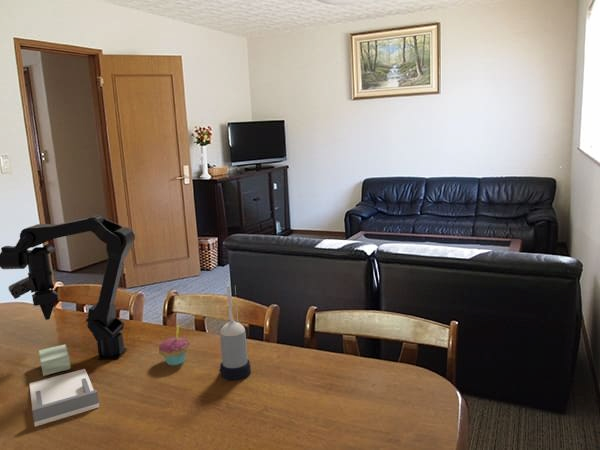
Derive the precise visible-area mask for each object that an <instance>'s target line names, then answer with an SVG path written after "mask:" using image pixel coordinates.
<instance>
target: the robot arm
mask: <svg viewBox="0 0 600 450" xmlns="http://www.w3.org/2000/svg"><path fill="white" fill-rule="evenodd" d="M86 232H91V233H93V234H94V235H95V236H96V237H97V238H98V239H99V241H101V242H103V243H105V244H106V246H105V252H106V254H107V262H106V266H105V270H104V271H105V272H104V274H103V279H102V284H101V288H100V293H99V297H98V301H96V302H95V304H93V305H92V306H90V308H88V312H87V318H86V320H85V323H87V325H86V326H87V329H88V330H89V332H90V333H91V334H92V335H93V338H94V339H95V341H96V346H97V347H96V348H97V353H98V356H97V359H98V360H109V359H110V360H118V359H120V358H121V357H122V355H123V354H124V353H126V351H127V349H128V348H127V347H125V343H124V337H123V336H124V335H123V332H122V331H123V329H124V327H125V322H123V321H122V320H121V319H120V318H118V317H117V308H116V304H115V301H116V297H117V292H118V289H119V284H120V279H121V276H122V272H123V268H124V267H123V266H124V264H125V260H126V258H127V256H128V254H129V253H130V251H131V249H132V247H133V244H134V242H135V240H136V235H135V233H134V232H133V230H132V229H131V228H128V227H125V226H122V225H121V224H119V223H118V222H115V221H114V222H113V221H111V220H109V219H107V218H105V217H103V216H102V215H99V214H95V215H93V216H90V217H85V218H80V219H76V220H72V221H66V222H61V223H58V224H57V223H55V224H54V223H53V224H52V223H38V224H35V225H31V226H28V227H25V228H23V229H22V230H21V231H20V233H19V239H18V241H17V243H16V245H4V246H2V247H1V248H0V249H1V251H0V269H2V270H24V269H26V268H28V273H27V277H25V278H22V279H21V280H18V281H16V282H14V283H13V284H10V285H9V286H8V292H10V294H11V296H12V297H13V299H15V300H16V299H18V298H20V297H21V296H23V295H25V294H27V293H28V292H30V293H33V294H31V298H32V304H33V306H35V307H37V306H39V307H40V310H41V312H42V314H43V317H44V319H45V321H48V320H50V319H51V316H52V312H53V309H54V306H55V303H57V302H59V298H58V293H57V291H55V290H54V288H55V285H54V284H55V283H54V281H53V272H52V267H51V260H50V254H51V253H53V252H56V248H55V247H53V246H51V244H49V243H48V242H49V241H52V240H54V239H58V238H59V239H60V238H63V237H68V236H69V237H70V236H72V235H73V236H74V235H77V234H84V233H86ZM45 243H48V244H45ZM43 244H45V245H43ZM40 245H43V246H40ZM31 248H32V249H31ZM29 249H30V250H29Z"/></svg>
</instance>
